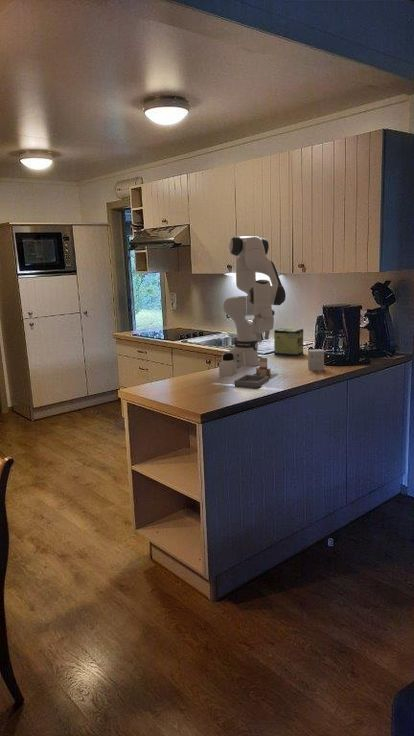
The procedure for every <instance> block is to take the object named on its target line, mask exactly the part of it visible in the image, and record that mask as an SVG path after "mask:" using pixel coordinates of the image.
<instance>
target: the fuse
mask: <svg viewBox="0 0 414 736" xmlns="http://www.w3.org/2000/svg"><path fill="white" fill-rule="evenodd" d="M258 358H259V357H258ZM258 366H259V367H258V368H259V376H267V369H268V357H267V358H266V357H260V358H259V365H258Z"/></svg>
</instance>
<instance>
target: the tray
mask: <svg viewBox="0 0 414 736" xmlns="http://www.w3.org/2000/svg"><path fill="white" fill-rule="evenodd" d="M267 382H269V376H257V375H254V374H245V375H243V376H241V377H239V378H238V379H235V380H234V388H241V389H243V388H244V389H251V390H252V389H253V390H259V389H261V388H262V385H263V384H266V383H267Z"/></svg>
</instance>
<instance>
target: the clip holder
mask: <svg viewBox="0 0 414 736" xmlns="http://www.w3.org/2000/svg"><path fill="white" fill-rule="evenodd" d="M271 368H272V367H271ZM271 368H269V367H267V376H269V380H272V379H274V378H275V377H277V376H279V374H278V373H271V371H272V370H271ZM255 371H256V372H255V373H254V374H253V375H257V376H259V367H256V368H255Z"/></svg>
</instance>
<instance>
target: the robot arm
mask: <svg viewBox="0 0 414 736" xmlns="http://www.w3.org/2000/svg"><path fill="white" fill-rule="evenodd" d="M269 245H270V244H269V241H268V239H266V238H263V237H259V236H256V235H252V236H233V237H232V238H231V239H230V242H229V245H228V246H229V252H230V254H231V255H232V256H236V257H237V259H236V267H235V268H236V269H235V277H236V278H235V283H236V288H238V290H239V291H242V292H244V293H245V294H246V295H242V296H241V295H240V296H239V295H237V296H236V295H235V296H231V297H227V298H225V300H224V302H223V305H222V306H223V307H222V308H223V312H224V313H225V314H226V315H227V316H229V318H231V319H232V321H233V322H234V324H235V327H236V340H235V341H233V345H234V346H233V347H232V348H231V349H230V350H229V351H227V352H226V353H232V354H233V360H234V361H233V362H236V364H237V368H242V367H256V366H259V353H258V349H259V348H258V347H259V344H258V343H261V342H262V339H263V338H262V334H263V333H265V334H264V336H263V337H264V340H267V341H268V340H269V339H270V338H269V337H270V333H271V332H270V331H271V330H273V329H274V325H275V317H274V316H275V315H276V313H275V310H273V309H272V307H273V306H280V305H282V304H283V303H284V302H285V301H286V295H287V293H286V291H285V288H284V286H283V284H282V282H281V279H280V275H279V273H278V271H277V268H276V266H275V264H274V262H273V261H272V260H270V259H269V258H268V256H267V255H268V252H269V249H270V246H269ZM256 273H259V274H260V273H261V274H264V275H265V276H267V277H268V278H269V280H268V279H258V280H257V277H256ZM252 316H253V317H254V318H253V319H252V322H251V321H249V320H248V319H246V317H252ZM220 363H222V361H221V362H220Z"/></svg>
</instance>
